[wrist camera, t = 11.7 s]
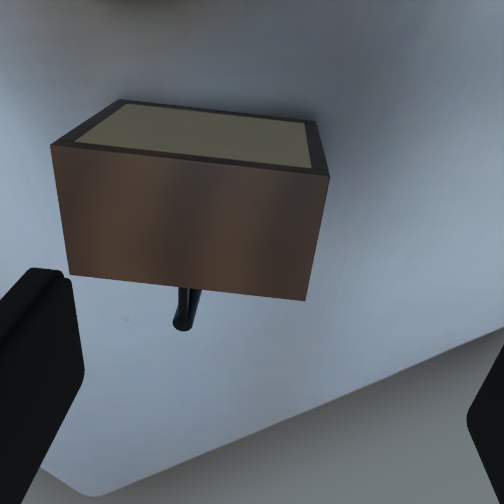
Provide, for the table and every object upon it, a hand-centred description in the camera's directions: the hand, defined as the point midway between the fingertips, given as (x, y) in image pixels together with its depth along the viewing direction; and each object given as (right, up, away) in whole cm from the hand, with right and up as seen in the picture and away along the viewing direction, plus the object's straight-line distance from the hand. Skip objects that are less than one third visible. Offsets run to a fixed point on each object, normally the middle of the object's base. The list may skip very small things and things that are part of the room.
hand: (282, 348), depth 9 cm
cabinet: (-4, +10, +28) cm, 29 cm away
